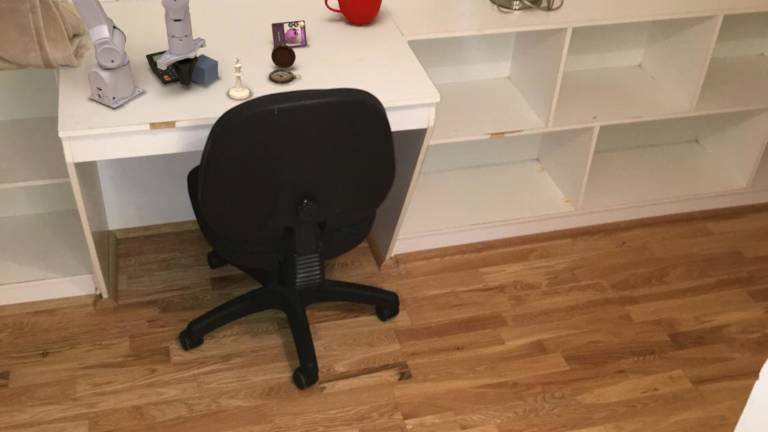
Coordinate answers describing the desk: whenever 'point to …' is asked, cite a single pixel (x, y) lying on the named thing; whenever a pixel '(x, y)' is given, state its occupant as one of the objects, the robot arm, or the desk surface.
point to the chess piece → (238, 82)
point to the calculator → (163, 75)
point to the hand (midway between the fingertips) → (185, 84)
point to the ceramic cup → (358, 10)
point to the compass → (282, 64)
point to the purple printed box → (288, 33)
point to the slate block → (205, 70)
